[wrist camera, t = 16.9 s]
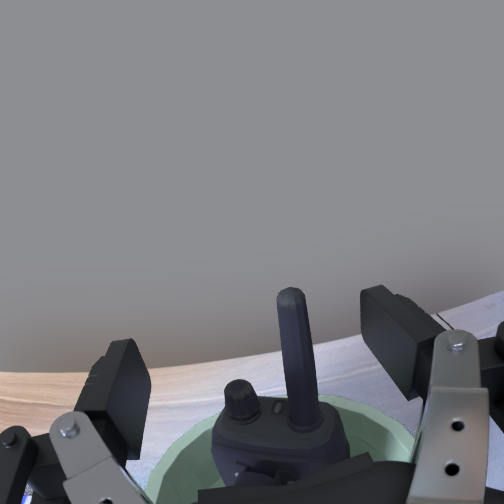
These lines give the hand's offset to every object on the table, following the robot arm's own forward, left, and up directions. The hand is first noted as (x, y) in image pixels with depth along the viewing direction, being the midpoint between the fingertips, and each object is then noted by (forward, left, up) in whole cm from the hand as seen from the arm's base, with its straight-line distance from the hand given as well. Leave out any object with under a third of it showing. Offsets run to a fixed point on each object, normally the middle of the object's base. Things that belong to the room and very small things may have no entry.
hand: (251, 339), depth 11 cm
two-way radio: (-1, +2, -13) cm, 13 cm away
